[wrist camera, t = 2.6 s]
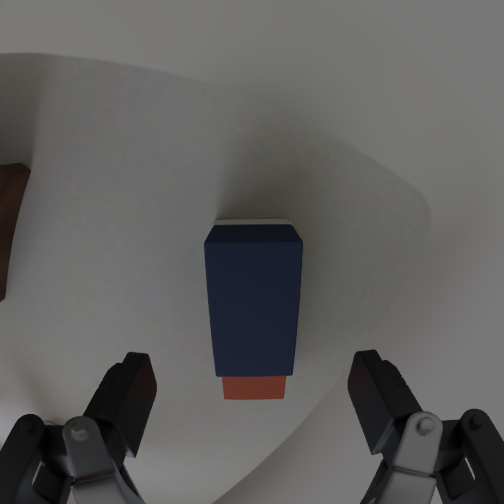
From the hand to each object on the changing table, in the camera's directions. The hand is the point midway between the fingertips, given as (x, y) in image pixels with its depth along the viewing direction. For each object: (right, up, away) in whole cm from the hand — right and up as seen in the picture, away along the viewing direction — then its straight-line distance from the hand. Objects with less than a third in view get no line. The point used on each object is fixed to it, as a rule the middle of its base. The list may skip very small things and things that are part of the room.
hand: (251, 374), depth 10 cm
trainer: (0, +1, +9) cm, 9 cm away
